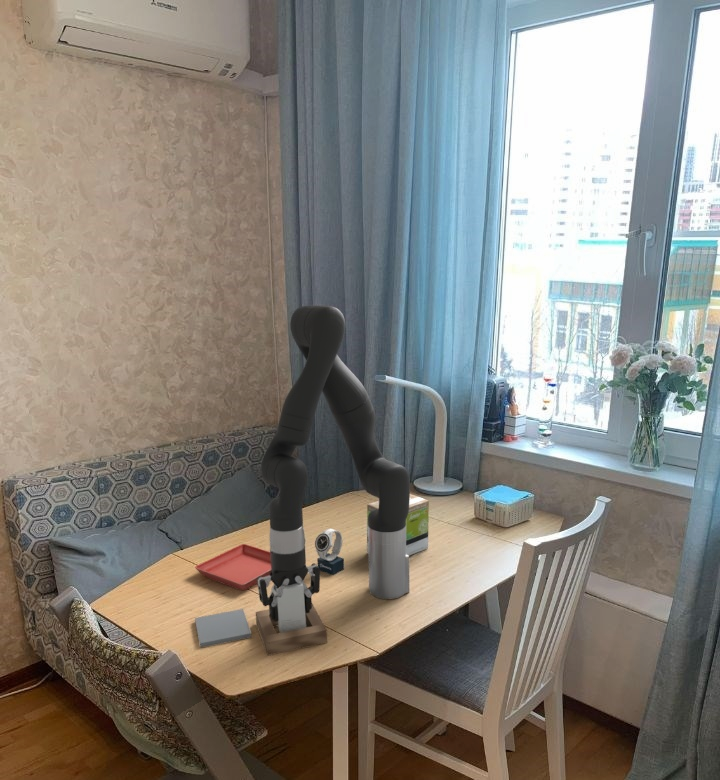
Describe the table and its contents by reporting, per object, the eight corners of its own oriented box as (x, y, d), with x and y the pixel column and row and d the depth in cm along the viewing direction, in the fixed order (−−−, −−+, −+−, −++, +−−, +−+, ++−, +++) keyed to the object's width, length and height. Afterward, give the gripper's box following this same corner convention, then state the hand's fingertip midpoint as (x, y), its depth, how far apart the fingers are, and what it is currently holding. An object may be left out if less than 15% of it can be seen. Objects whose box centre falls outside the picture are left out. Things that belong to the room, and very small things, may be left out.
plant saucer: (243, 553, 189) (243, 542, 189) (291, 569, 179) (291, 557, 178) (194, 578, 175) (193, 566, 174) (243, 597, 165) (242, 585, 164)
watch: (312, 572, 176) (311, 533, 174) (332, 561, 182) (331, 523, 180) (328, 578, 173) (327, 538, 170) (348, 567, 179) (347, 528, 176)
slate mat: (243, 612, 157) (242, 608, 157) (251, 637, 147) (251, 633, 146) (195, 621, 153) (194, 617, 153) (200, 647, 143) (199, 643, 143)
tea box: (391, 565, 179) (390, 513, 176) (366, 553, 187) (365, 503, 184) (429, 548, 189) (429, 499, 186) (404, 538, 196) (404, 490, 193)
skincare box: (304, 625, 150) (302, 576, 148) (307, 636, 146) (304, 585, 144) (276, 629, 149) (274, 579, 147) (278, 640, 145) (276, 589, 143)
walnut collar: (311, 613, 156) (311, 601, 155) (327, 642, 144) (326, 629, 143) (256, 623, 152) (255, 611, 151) (267, 655, 140) (267, 642, 139)
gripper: (312, 532, 150) (314, 600, 153) (250, 545, 144) (254, 615, 147) (325, 544, 143) (327, 615, 147) (260, 558, 137) (264, 632, 140)
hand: (290, 615), depth 147 cm, fingers closed on skincare box, 6 cm apart
